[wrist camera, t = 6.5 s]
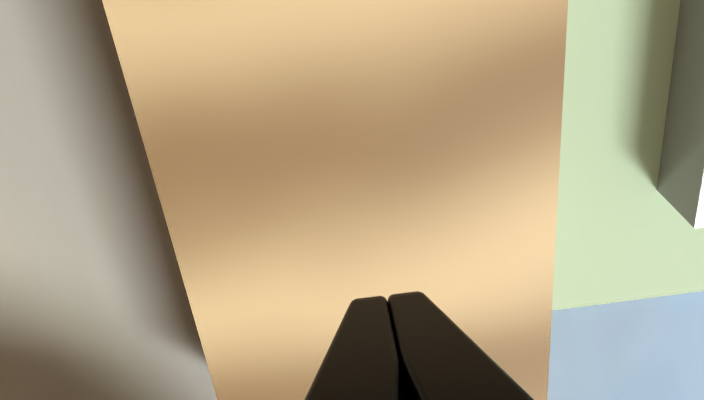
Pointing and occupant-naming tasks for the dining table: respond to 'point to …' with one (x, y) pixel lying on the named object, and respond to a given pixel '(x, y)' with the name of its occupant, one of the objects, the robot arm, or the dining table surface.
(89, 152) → the dining table surface
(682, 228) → the mat
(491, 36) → the deck
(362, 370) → the robot arm
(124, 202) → the dining table surface
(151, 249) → the dining table surface
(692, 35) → the pale grey box
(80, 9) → the dining table surface
